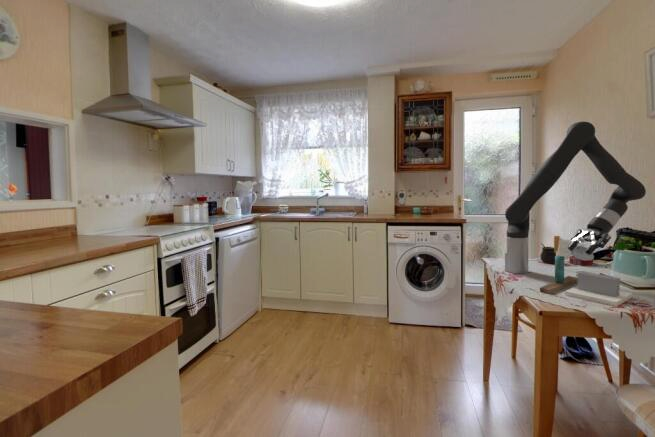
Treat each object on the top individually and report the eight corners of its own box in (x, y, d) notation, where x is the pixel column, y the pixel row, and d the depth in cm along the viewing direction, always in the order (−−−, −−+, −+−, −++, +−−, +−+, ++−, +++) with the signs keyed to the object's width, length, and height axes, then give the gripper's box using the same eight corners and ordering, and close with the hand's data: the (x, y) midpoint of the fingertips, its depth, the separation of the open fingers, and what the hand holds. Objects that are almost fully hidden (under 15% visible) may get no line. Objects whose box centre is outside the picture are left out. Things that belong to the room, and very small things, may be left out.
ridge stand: (564, 294, 131) (565, 274, 130) (581, 287, 138) (581, 268, 137) (616, 306, 117) (617, 283, 116) (632, 297, 124) (632, 276, 124)
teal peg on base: (539, 292, 136) (540, 260, 135) (568, 280, 148) (568, 251, 147) (549, 294, 133) (549, 262, 131) (577, 282, 145) (578, 252, 144)
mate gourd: (552, 264, 173) (552, 245, 172) (537, 262, 180) (536, 244, 179) (559, 262, 177) (559, 243, 176) (543, 260, 183) (543, 242, 182)
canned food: (589, 271, 174) (601, 255, 170) (585, 273, 167) (597, 257, 163) (566, 258, 181) (578, 243, 177) (561, 260, 174) (573, 244, 170)
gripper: (583, 214, 147) (558, 242, 147) (614, 217, 133) (587, 248, 132) (593, 225, 148) (569, 253, 148) (626, 230, 134) (599, 261, 134)
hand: (578, 251), depth 140 cm, fingers open, 8 cm apart
